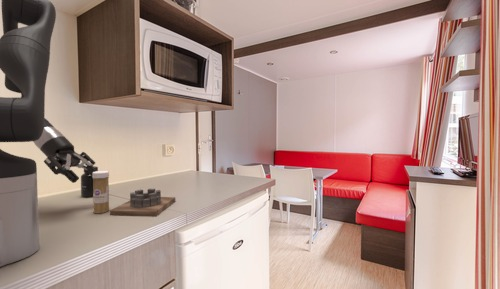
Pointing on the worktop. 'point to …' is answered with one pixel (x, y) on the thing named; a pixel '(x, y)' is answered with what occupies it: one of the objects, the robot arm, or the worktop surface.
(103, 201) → the sprinkles bottle
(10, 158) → the robot arm
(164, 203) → the collar base
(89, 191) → the supplement bottle
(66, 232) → the worktop surface
